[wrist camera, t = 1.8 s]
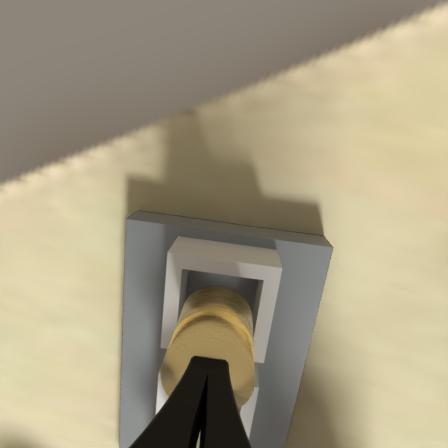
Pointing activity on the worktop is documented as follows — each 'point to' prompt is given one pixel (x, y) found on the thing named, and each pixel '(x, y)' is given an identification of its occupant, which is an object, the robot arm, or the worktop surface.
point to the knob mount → (230, 278)
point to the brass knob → (213, 339)
